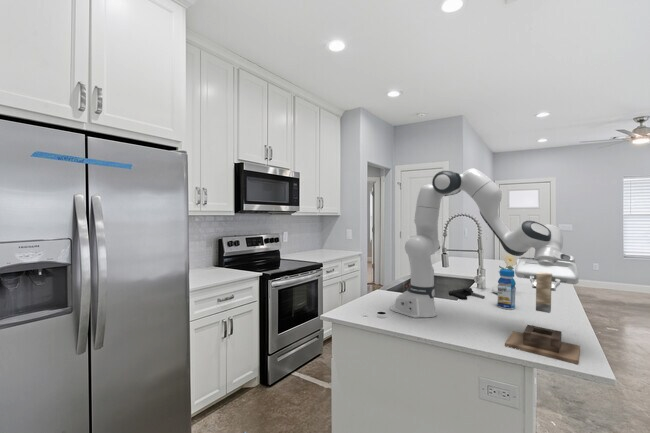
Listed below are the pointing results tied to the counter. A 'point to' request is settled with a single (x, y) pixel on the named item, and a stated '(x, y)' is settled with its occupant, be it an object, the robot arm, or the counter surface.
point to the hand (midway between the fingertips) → (543, 288)
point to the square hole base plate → (544, 343)
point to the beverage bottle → (506, 289)
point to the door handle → (464, 293)
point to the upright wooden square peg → (543, 292)
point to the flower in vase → (509, 261)
